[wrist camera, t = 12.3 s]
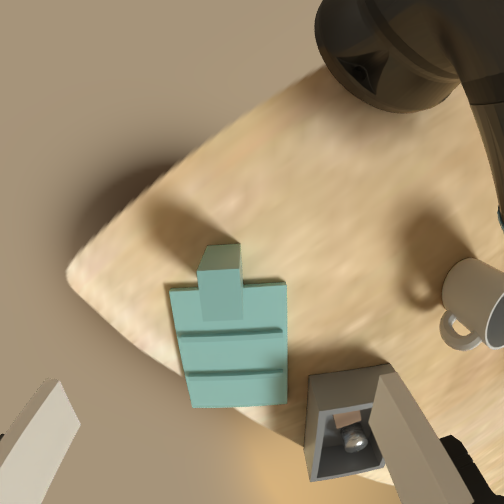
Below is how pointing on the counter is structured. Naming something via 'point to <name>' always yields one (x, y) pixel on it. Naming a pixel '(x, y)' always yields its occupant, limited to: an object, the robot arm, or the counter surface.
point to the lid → (231, 334)
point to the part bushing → (353, 437)
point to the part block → (346, 418)
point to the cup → (473, 305)
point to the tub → (328, 436)
